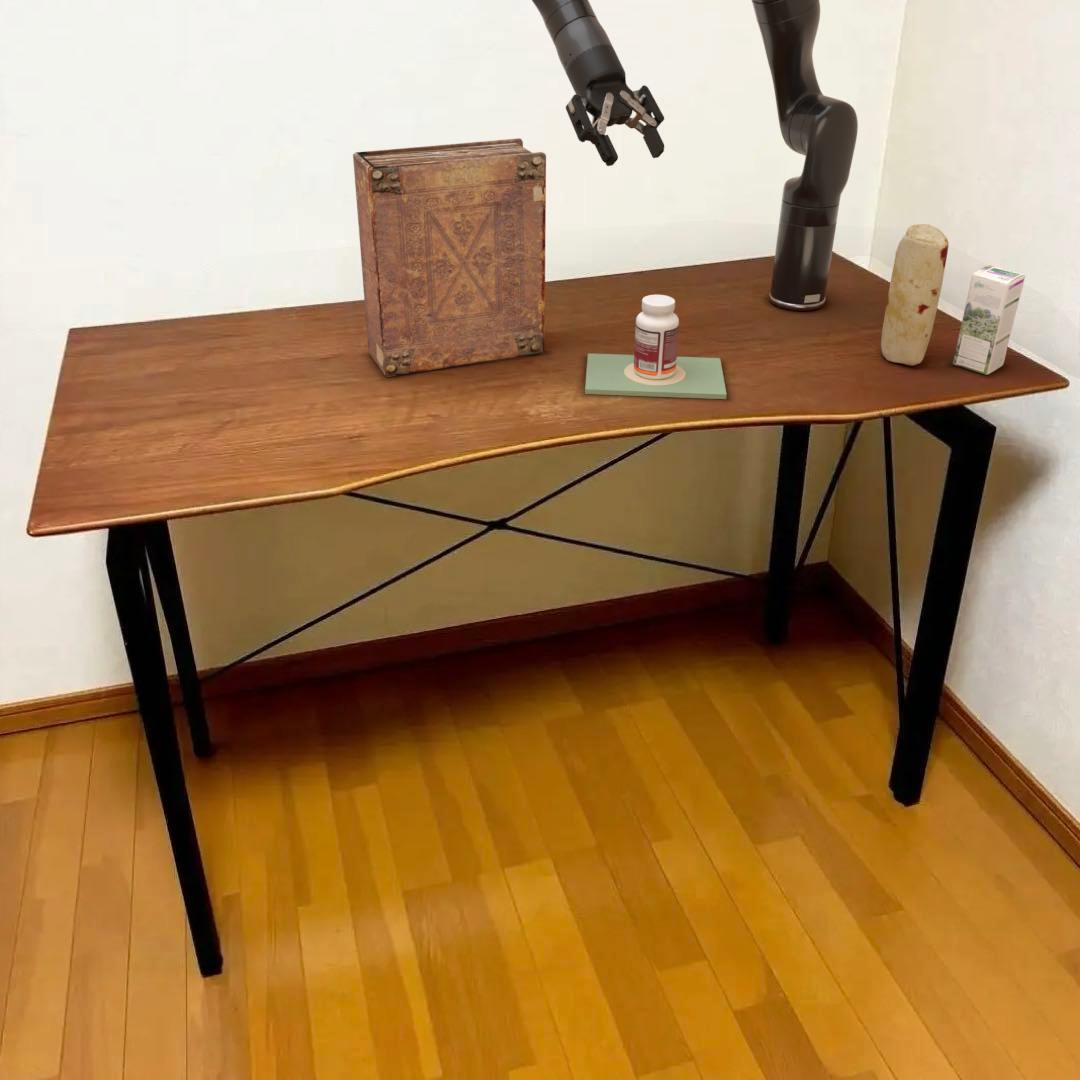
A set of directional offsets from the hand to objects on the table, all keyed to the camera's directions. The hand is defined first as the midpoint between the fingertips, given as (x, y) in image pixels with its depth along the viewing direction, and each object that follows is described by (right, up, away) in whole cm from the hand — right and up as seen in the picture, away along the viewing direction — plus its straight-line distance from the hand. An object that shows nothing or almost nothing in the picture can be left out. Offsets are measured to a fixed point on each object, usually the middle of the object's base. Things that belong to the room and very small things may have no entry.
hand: (636, 158), depth 158 cm
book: (-26, -26, +12) cm, 39 cm away
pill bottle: (+3, -30, +5) cm, 30 cm away
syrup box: (+53, -28, +11) cm, 60 cm away
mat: (+3, -30, +6) cm, 31 cm away
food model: (+42, -26, +13) cm, 51 cm away
